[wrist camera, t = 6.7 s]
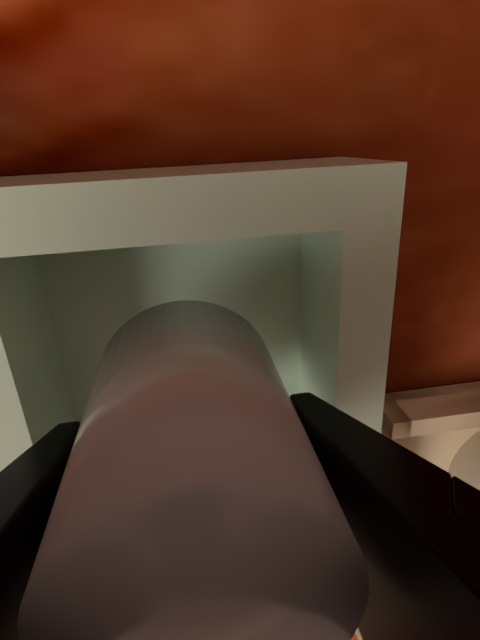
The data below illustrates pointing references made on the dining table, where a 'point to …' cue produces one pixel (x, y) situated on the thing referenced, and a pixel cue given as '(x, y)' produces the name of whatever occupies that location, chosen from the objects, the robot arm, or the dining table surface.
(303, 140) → the dining table surface
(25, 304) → the sage bin
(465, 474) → the pale pebble
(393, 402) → the birch tray
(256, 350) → the grey rounded piece
